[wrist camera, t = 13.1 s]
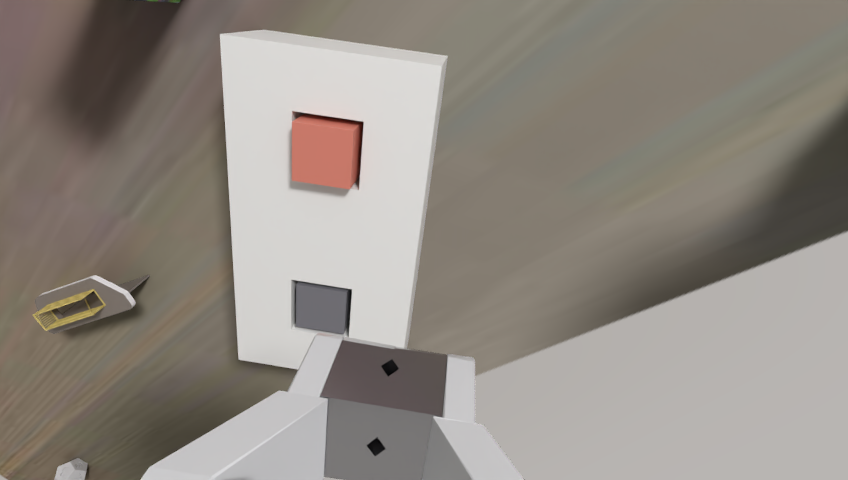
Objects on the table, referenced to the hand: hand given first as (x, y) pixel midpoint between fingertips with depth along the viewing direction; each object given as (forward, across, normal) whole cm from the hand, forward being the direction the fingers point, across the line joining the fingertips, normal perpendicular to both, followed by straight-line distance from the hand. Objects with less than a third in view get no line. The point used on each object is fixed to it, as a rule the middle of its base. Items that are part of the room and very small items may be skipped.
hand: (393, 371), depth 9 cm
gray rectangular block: (+30, +8, +16) cm, 35 cm away
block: (+31, +8, +10) cm, 34 cm away
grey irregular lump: (+32, +40, +51) cm, 72 cm away
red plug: (+29, +8, +3) cm, 30 cm away
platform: (+32, +31, +22) cm, 49 cm away
